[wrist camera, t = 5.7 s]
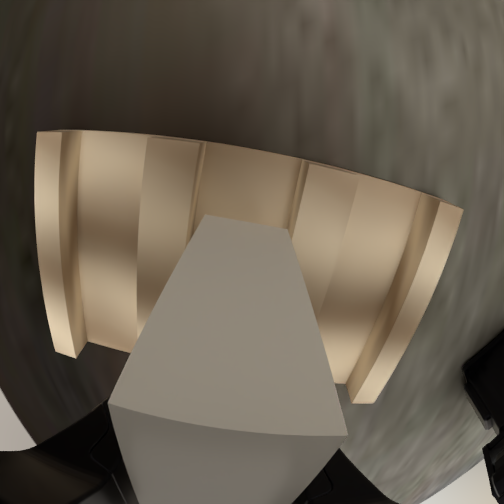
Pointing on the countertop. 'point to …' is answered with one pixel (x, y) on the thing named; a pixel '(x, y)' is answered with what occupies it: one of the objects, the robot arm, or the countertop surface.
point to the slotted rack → (238, 208)
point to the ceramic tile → (228, 377)
